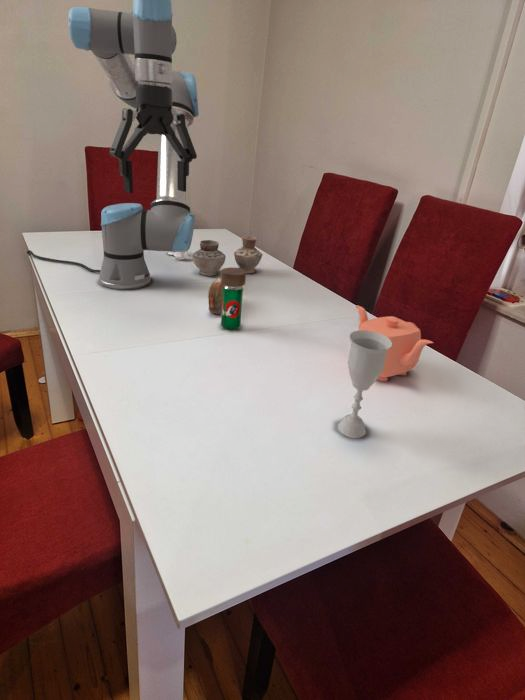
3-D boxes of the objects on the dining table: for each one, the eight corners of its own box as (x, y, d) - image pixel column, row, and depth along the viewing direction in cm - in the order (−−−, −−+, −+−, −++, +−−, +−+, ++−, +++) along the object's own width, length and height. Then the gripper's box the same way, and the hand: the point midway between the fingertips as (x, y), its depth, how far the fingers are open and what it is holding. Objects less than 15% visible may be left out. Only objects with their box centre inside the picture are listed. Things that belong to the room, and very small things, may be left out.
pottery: (265, 275, 159) (269, 241, 154) (198, 279, 149) (198, 243, 144) (252, 265, 168) (255, 233, 163) (187, 269, 158) (188, 235, 152)
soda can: (244, 327, 118) (247, 283, 112) (230, 332, 114) (232, 287, 109) (231, 321, 120) (233, 278, 115) (216, 326, 117) (218, 281, 112)
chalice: (328, 416, 85) (344, 329, 76) (364, 417, 85) (383, 331, 77) (338, 441, 78) (356, 349, 70) (375, 442, 79) (398, 350, 71)
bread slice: (217, 318, 121) (218, 288, 118) (205, 316, 122) (206, 287, 118) (231, 300, 135) (233, 272, 131) (221, 298, 135) (222, 271, 131)
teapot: (419, 392, 95) (434, 338, 90) (340, 376, 99) (350, 323, 93) (416, 361, 108) (430, 313, 103) (347, 348, 112) (356, 300, 106)
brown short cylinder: (216, 281, 112) (216, 269, 111) (235, 277, 116) (236, 266, 114) (230, 288, 108) (231, 276, 107) (250, 284, 112) (251, 272, 110)
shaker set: (189, 261, 166) (189, 231, 161) (178, 262, 164) (178, 231, 159) (177, 252, 175) (177, 223, 170) (166, 253, 173) (166, 224, 168)
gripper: (103, 77, 85) (111, 195, 94) (213, 92, 100) (210, 192, 109) (87, 77, 90) (96, 189, 99) (194, 91, 105) (193, 187, 114)
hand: (156, 191), depth 104 cm, fingers open, 13 cm apart
